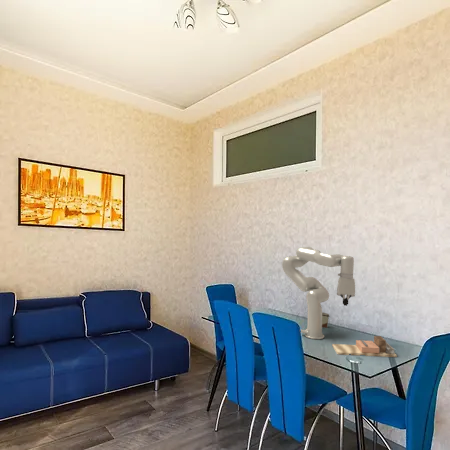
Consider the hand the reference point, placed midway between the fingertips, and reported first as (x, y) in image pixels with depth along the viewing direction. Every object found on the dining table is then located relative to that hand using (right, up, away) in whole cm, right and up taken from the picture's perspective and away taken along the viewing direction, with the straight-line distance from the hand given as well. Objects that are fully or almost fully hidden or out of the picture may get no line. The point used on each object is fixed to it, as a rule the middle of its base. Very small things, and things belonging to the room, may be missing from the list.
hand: (345, 305), depth 214 cm
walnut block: (+17, -24, -10) cm, 31 cm away
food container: (-5, -25, +40) cm, 47 cm away
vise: (+7, -25, -10) cm, 28 cm away
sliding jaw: (+10, -24, -10) cm, 28 cm away
